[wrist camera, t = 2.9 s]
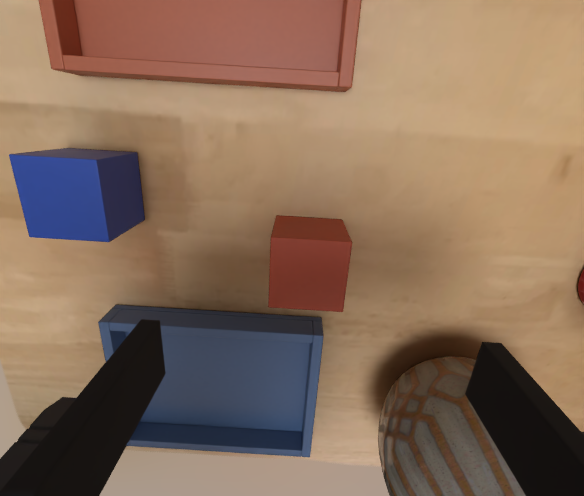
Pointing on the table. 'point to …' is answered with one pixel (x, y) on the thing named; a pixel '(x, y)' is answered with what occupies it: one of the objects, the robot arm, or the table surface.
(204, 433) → the blue tray
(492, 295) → the table surface
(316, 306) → the rust block
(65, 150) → the blue block
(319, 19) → the terracotta tray
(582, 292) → the mug
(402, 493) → the vase
